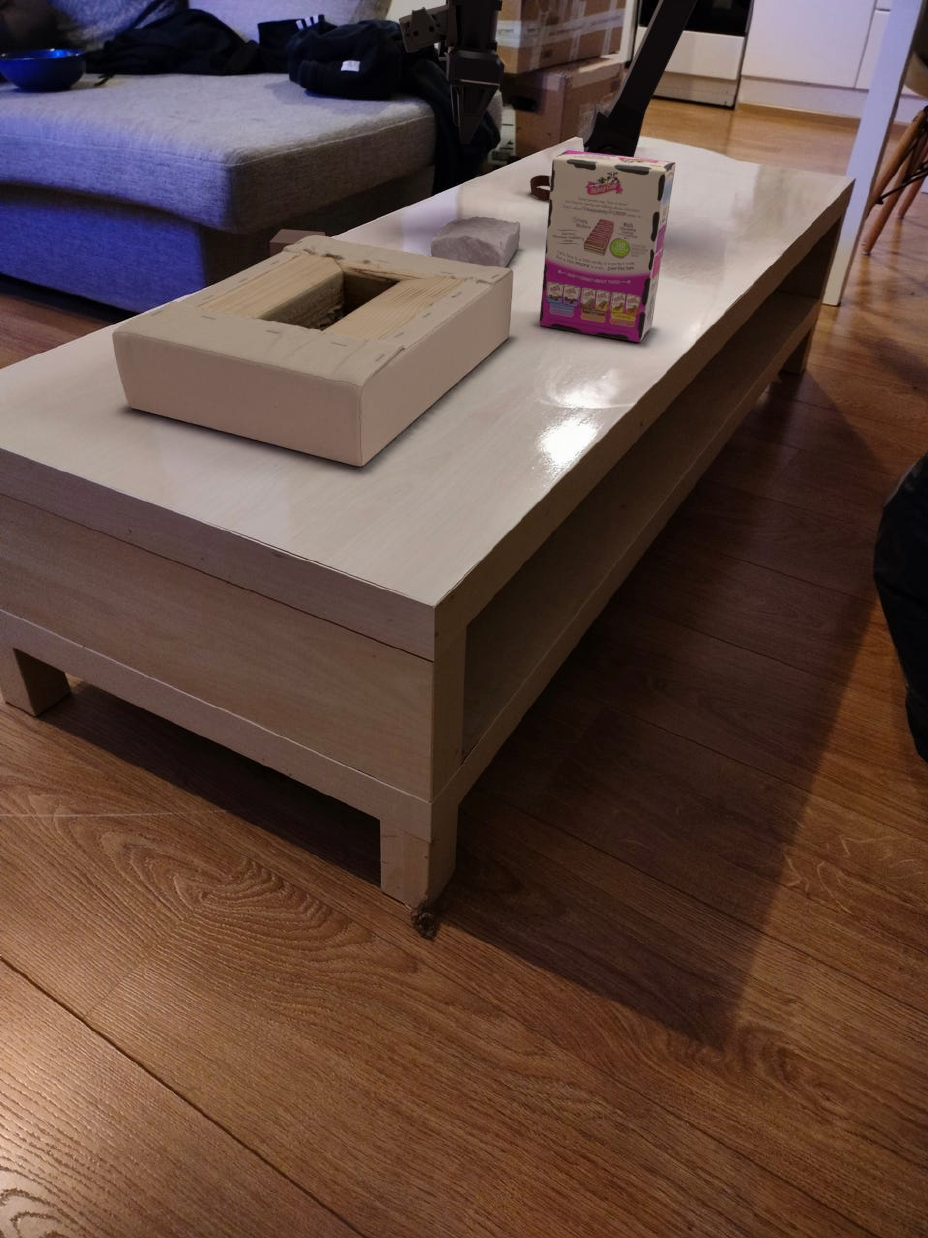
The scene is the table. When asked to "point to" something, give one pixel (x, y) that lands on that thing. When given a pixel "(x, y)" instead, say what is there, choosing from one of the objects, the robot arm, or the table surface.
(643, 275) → the candy bar box
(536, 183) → the watch
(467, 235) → the stone block
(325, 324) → the box
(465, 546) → the table surface
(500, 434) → the table surface
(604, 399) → the table surface
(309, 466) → the table surface
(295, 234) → the walnut cube
